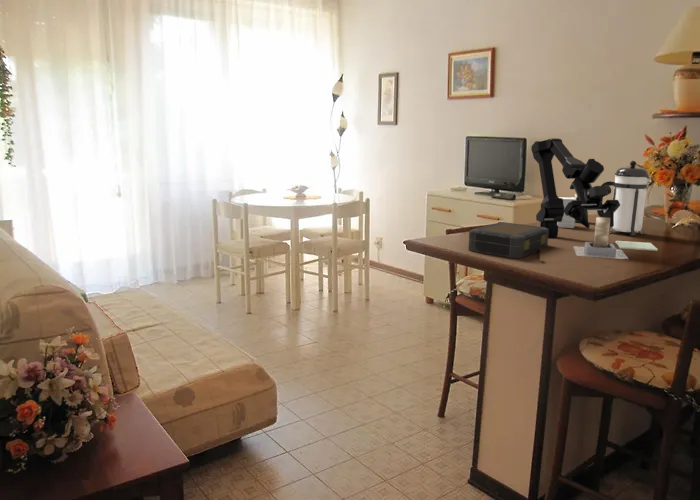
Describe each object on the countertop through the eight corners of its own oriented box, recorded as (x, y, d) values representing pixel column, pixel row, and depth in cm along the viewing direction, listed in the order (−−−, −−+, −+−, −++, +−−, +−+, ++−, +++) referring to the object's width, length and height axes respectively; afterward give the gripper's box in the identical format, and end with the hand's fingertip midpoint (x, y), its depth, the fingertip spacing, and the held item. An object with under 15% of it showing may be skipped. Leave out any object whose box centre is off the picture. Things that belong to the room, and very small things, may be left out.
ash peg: (593, 253, 198) (597, 218, 196) (592, 250, 202) (595, 216, 200) (607, 254, 197) (611, 219, 194) (605, 251, 201) (609, 217, 199)
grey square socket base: (576, 258, 195) (577, 248, 194) (572, 248, 210) (573, 239, 209) (628, 262, 190) (629, 251, 189) (620, 252, 205) (622, 242, 204)
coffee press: (635, 230, 249) (644, 159, 242) (650, 237, 233) (660, 162, 227) (594, 229, 251) (601, 159, 244) (606, 236, 235) (614, 161, 229)
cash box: (497, 240, 224) (499, 221, 222) (548, 248, 211) (550, 227, 209) (464, 250, 205) (465, 229, 204) (518, 260, 192) (520, 237, 191)
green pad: (620, 251, 207) (620, 246, 207) (615, 244, 218) (615, 240, 218) (657, 253, 204) (657, 249, 203) (650, 246, 215) (650, 242, 215)
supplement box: (574, 228, 252) (577, 199, 249) (556, 227, 254) (559, 198, 251) (571, 225, 259) (574, 197, 257) (554, 224, 261) (556, 196, 258)
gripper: (571, 176, 198) (587, 213, 190) (619, 176, 202) (637, 212, 194) (557, 197, 208) (571, 232, 199) (603, 196, 211) (620, 231, 203)
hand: (600, 227), depth 199 cm, fingers open, 9 cm apart
